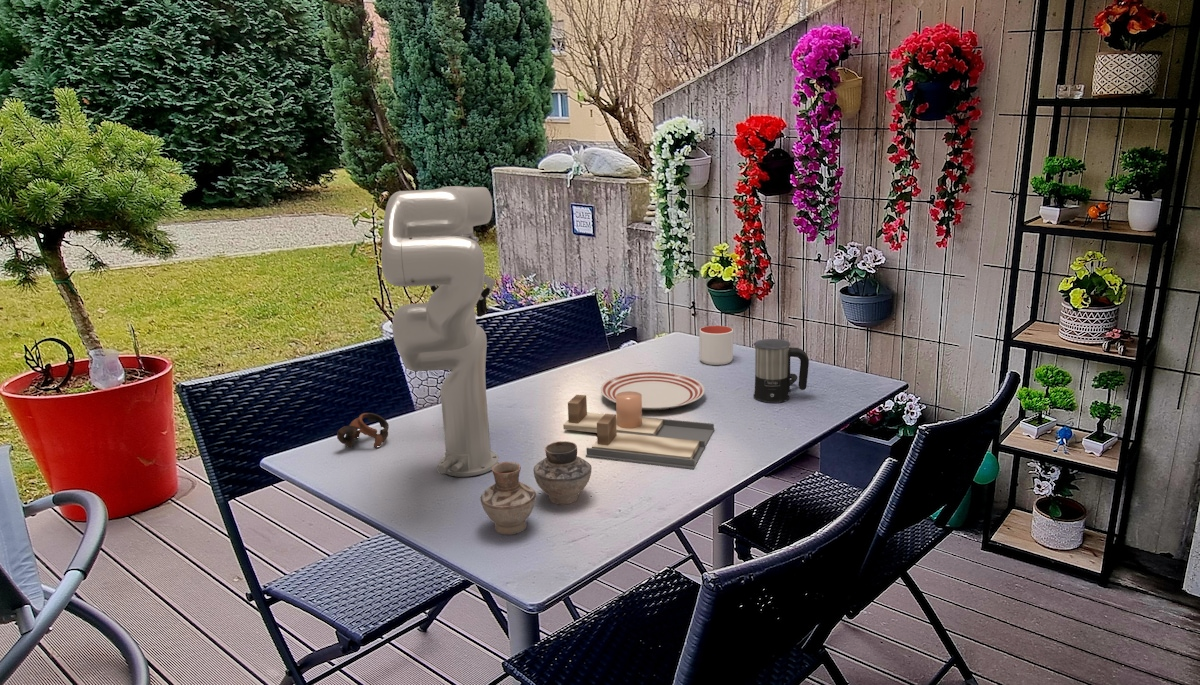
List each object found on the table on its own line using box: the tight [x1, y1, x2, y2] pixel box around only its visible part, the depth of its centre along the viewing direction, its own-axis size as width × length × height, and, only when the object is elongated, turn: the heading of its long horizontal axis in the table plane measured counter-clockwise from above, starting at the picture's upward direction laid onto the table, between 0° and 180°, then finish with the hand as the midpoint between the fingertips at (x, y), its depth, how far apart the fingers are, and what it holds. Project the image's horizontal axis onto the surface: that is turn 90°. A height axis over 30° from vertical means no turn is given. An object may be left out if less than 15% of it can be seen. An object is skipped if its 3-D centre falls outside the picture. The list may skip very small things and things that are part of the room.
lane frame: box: [585, 416, 715, 470], centre depth 176 cm, size 22×24×2 cm
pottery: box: [479, 440, 593, 536], centre depth 145 cm, size 11×25×12 cm, turn 141°
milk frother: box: [753, 338, 810, 404], centre depth 204 cm, size 14×16×15 cm
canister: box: [615, 391, 643, 428], centre depth 181 cm, size 6×6×7 cm
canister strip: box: [563, 394, 663, 435], centre depth 183 cm, size 9×22×6 cm, turn 71°
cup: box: [698, 325, 734, 366], centre depth 233 cm, size 10×10×10 cm
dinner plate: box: [600, 370, 706, 411], centre depth 205 cm, size 28×27×3 cm
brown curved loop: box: [336, 412, 389, 448], centre depth 179 cm, size 12×10×8 cm
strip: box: [591, 413, 699, 459], centre depth 170 cm, size 9×22×6 cm, turn 71°
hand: (463, 314), depth 181 cm, fingers open, 9 cm apart
